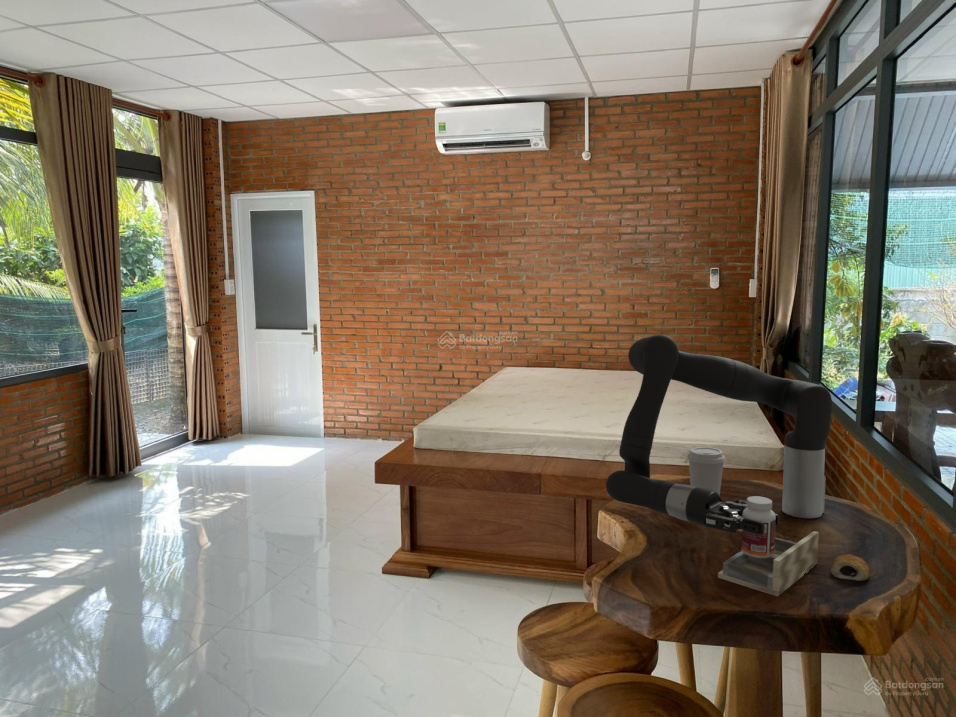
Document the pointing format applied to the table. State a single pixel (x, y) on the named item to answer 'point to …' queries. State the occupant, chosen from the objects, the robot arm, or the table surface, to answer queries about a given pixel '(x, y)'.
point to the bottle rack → (773, 565)
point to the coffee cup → (706, 468)
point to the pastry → (850, 568)
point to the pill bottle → (764, 543)
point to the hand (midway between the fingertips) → (770, 524)
